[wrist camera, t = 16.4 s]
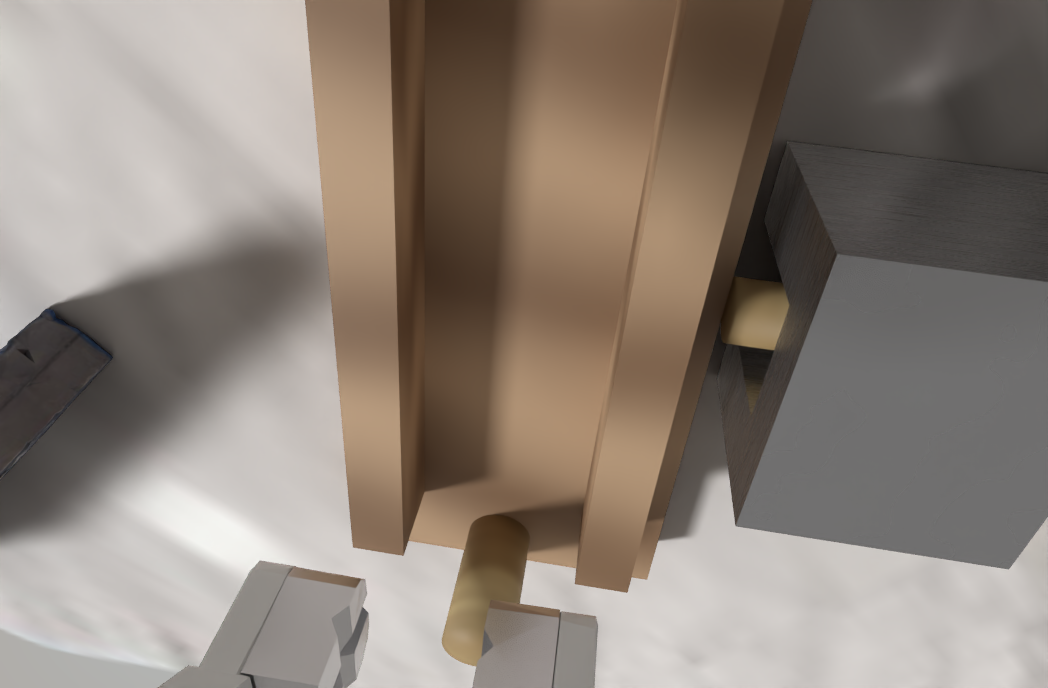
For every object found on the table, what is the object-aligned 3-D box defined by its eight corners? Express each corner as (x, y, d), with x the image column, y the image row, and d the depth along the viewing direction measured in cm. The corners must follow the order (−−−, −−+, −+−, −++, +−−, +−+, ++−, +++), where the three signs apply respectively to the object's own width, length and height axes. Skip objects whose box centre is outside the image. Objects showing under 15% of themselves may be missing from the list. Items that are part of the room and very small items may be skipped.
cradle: (309, -336, 13) (139, -417, 9) (1178, -261, 12) (1477, -306, 8) (366, 498, 26) (308, 637, 22) (792, 566, 25) (824, 726, 21)
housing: (787, 141, 17) (837, 254, 13) (1056, 174, 17) (1205, 302, 12) (717, 377, 21) (735, 526, 17) (931, 409, 21) (1008, 569, 16)
